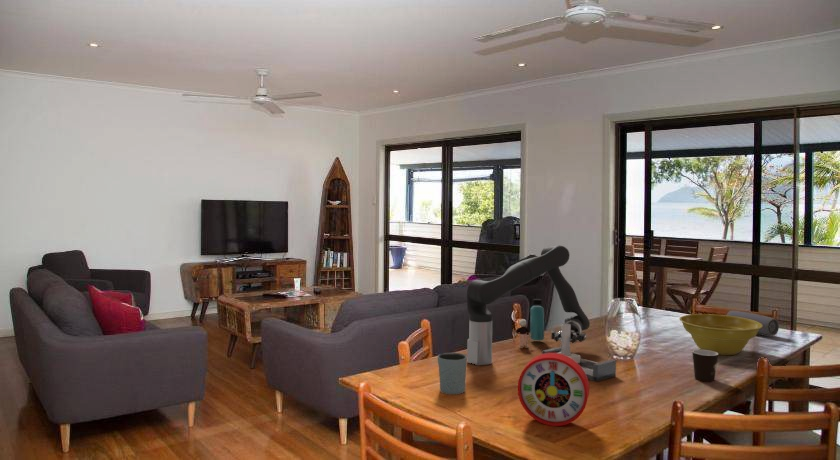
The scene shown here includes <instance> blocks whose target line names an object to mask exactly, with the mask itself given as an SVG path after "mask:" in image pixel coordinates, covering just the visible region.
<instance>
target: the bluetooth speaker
mask: <svg viewBox="0 0 840 460" xmlns="http://www.w3.org/2000/svg"><path fill="white" fill-rule="evenodd" d="M726 315H727V316H735V317H741V318H746V319H750V320H754V321H757V322H759V323H761V324H762V325H763V327H762V328H760V329H759V331H758V333H757V335H756V336H762V335H765V336H775V335H777V334H778V332H779V330H780V329H779V328H780V325H779V322H778V320H777V319H776V318H774V317H772V316H771V317H770V316H766V315H762V314H758V313H757V314H756V313H752V312H746V311H740V310H729V311H728V312H727V314H726Z"/></svg>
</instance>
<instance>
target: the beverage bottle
mask: <svg viewBox="0 0 840 460" xmlns="http://www.w3.org/2000/svg"><path fill="white" fill-rule="evenodd" d="M542 303H543V302H542V298H533V299H532V304H533V305H532V306H531V307H530V310H529V311H530V317H529V319H530V321H529V326H530V328H529V331H530V333H531V336H529V338H530V339H531V340H533V341H543V340H544V339H545V309H544V307H543V306H541V305H542Z"/></svg>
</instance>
